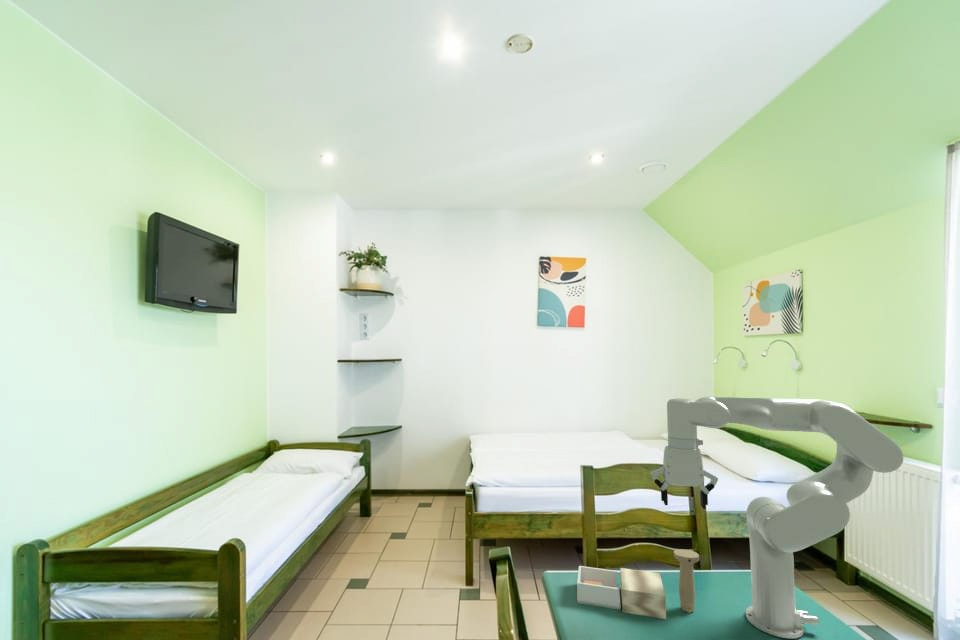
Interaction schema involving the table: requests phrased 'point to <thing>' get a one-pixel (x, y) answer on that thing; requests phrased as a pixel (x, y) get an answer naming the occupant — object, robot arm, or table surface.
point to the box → (598, 587)
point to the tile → (593, 582)
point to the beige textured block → (642, 593)
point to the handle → (686, 578)
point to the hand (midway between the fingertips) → (684, 505)
